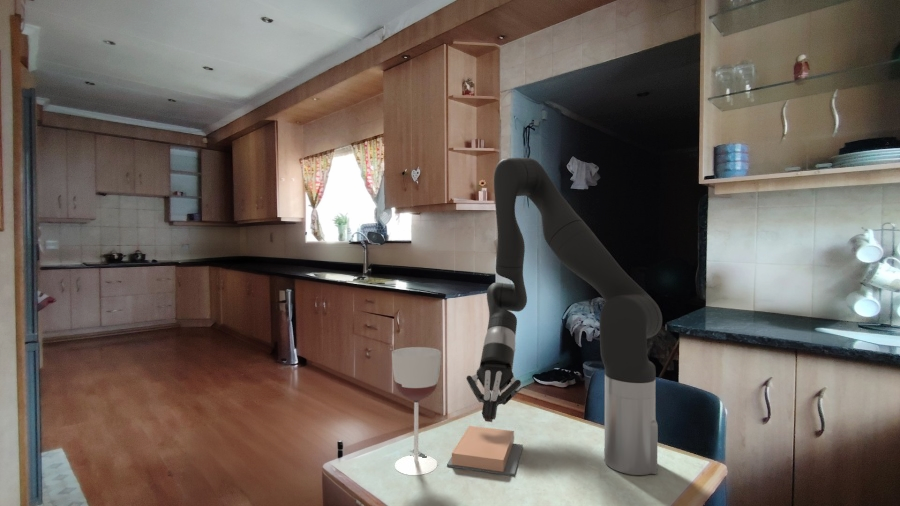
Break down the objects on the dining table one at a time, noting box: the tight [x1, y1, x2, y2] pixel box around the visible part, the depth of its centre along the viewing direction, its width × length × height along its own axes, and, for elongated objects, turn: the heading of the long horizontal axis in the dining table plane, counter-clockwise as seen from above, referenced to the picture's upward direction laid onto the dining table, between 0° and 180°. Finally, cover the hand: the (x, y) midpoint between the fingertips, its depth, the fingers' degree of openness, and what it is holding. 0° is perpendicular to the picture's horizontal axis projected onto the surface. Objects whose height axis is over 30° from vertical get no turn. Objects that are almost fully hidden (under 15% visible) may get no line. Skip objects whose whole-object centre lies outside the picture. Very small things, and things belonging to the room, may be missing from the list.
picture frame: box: [451, 425, 515, 472], centre depth 91 cm, size 10×2×14 cm
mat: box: [446, 443, 524, 477], centre depth 90 cm, size 13×13×1 cm
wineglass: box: [391, 346, 442, 476], centre depth 86 cm, size 9×10×22 cm
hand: (488, 420), depth 94 cm, fingers closed
